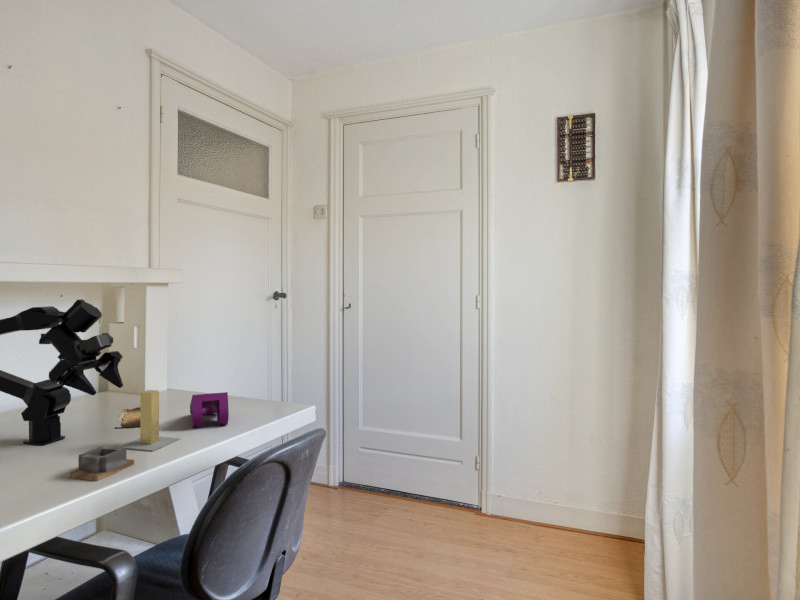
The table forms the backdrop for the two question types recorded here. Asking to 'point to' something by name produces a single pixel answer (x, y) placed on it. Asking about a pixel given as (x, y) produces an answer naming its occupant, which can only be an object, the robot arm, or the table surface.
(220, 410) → the mounting bracket
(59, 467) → the table surface
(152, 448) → the felt pad
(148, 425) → the yellow rectangular block
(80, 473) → the grey block holder
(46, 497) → the table surface
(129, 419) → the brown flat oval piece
